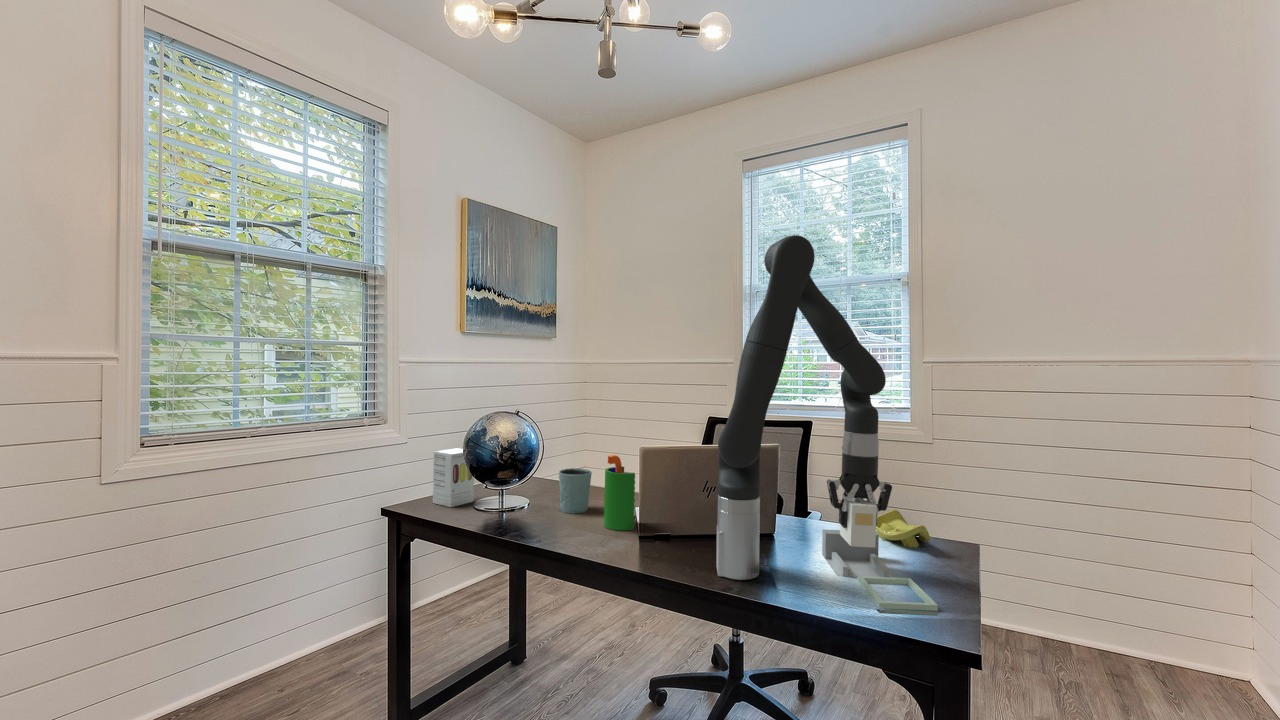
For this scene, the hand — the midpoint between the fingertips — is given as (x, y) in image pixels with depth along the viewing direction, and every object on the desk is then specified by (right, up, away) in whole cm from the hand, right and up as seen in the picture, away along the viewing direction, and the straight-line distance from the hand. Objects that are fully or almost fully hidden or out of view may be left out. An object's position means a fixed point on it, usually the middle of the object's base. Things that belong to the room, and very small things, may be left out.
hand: (857, 527), depth 124 cm
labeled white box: (0, -3, 0) cm, 3 cm away
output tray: (+2, -10, -14) cm, 17 cm away
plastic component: (+20, -11, +22) cm, 31 cm away
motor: (-54, -10, +33) cm, 64 cm away
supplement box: (-109, -9, +56) cm, 123 cm away
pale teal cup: (-69, -9, +49) cm, 85 cm away
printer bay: (0, -10, +1) cm, 10 cm away
